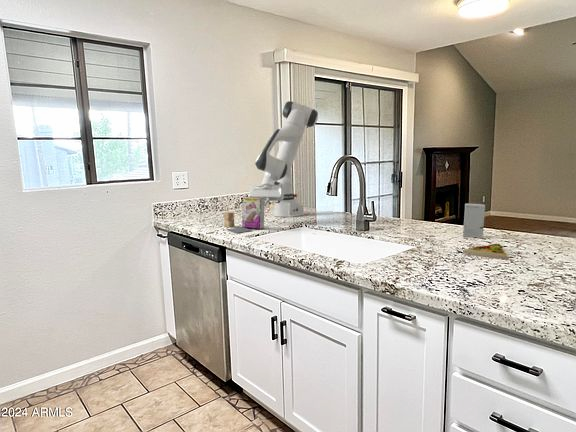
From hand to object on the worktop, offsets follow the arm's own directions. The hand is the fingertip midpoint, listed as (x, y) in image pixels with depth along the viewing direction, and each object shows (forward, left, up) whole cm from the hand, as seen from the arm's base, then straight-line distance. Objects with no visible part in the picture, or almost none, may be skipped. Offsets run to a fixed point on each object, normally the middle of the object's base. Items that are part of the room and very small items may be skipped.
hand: (263, 205), depth 215 cm
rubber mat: (+17, +4, -11) cm, 21 cm away
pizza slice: (-35, +109, -12) cm, 115 cm away
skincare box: (-55, +91, -12) cm, 107 cm away
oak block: (+16, -10, -11) cm, 22 cm away
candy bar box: (+9, +4, -11) cm, 15 cm away
